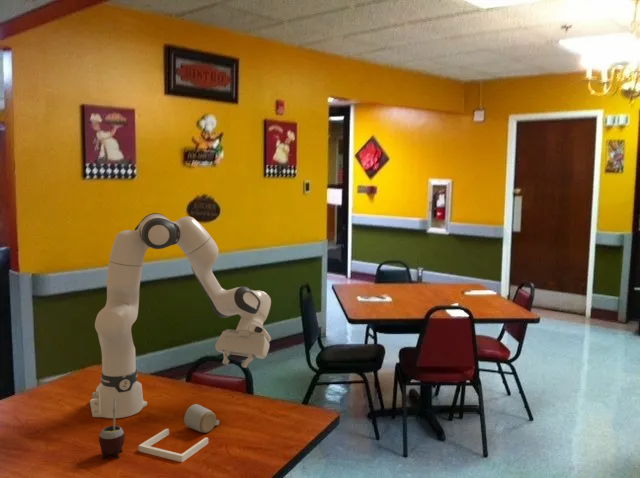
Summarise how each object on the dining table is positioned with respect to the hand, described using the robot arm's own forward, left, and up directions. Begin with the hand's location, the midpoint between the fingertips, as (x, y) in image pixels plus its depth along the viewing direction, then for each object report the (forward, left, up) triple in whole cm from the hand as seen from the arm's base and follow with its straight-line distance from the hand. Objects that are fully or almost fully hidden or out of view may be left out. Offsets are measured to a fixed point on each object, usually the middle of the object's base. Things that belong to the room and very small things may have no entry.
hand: (234, 365), depth 206 cm
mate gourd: (+11, -46, -16) cm, 50 cm away
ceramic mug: (+9, -16, -16) cm, 25 cm away
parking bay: (+17, -29, -15) cm, 37 cm away
